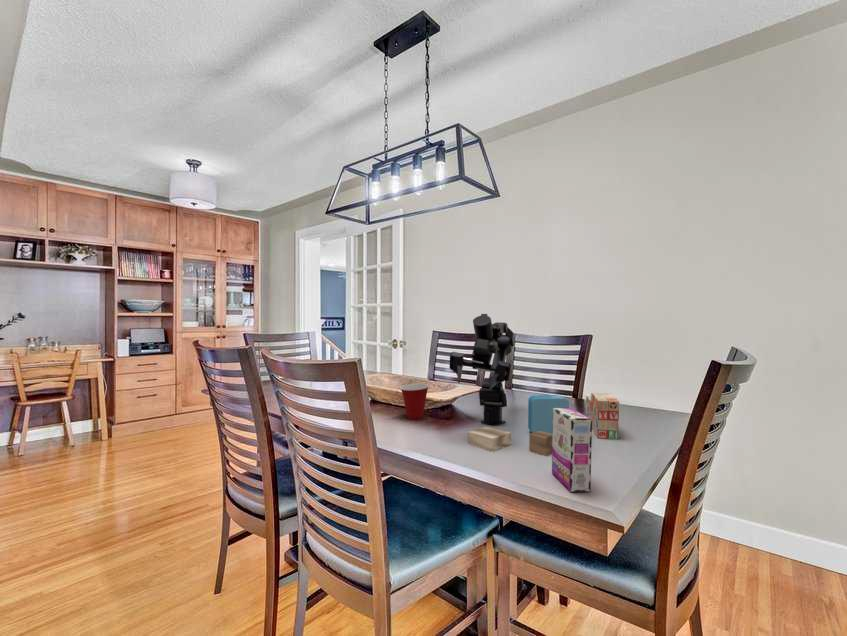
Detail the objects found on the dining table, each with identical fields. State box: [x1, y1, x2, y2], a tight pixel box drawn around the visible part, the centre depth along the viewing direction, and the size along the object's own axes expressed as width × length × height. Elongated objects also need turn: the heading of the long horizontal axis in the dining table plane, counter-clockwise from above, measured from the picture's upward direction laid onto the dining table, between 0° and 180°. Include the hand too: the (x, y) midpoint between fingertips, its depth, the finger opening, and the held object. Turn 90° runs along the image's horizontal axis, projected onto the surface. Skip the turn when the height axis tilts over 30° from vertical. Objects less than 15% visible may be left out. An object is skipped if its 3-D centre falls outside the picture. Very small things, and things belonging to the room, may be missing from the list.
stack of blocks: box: [585, 392, 620, 441], centre depth 142 cm, size 21×6×12 cm, turn 168°
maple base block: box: [467, 426, 512, 452], centre depth 126 cm, size 9×9×4 cm
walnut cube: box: [528, 431, 553, 457], centre depth 120 cm, size 5×5×5 cm
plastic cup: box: [399, 383, 430, 420], centre depth 156 cm, size 11×11×12 cm
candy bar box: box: [551, 407, 593, 493], centre depth 98 cm, size 11×5×16 cm, turn 5°
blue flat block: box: [527, 394, 570, 434], centre depth 137 cm, size 12×4×12 cm, turn 91°
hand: (474, 385), depth 124 cm, fingers open, 9 cm apart
